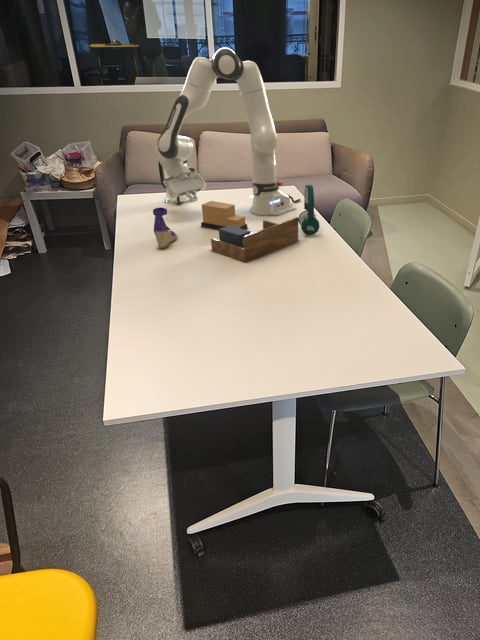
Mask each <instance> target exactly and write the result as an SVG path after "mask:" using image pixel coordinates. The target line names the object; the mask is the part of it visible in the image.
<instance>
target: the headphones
mask: <svg viewBox="0 0 480 640" xmlns="http://www.w3.org/2000/svg"><path fill="white" fill-rule="evenodd" d="M303 209H304V211H302V212H300V214H299V215H298V225H300V227H301V231H302V233H304V234H305V235H306V236H314V235H316V234H317V233H318V232H319V230H320V221H319V220H318V219H317V217H316V213H315V192H314V185H313V184H305V187H304V199H303Z"/></svg>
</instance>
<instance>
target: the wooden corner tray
mask: <svg viewBox="0 0 480 640" xmlns="http://www.w3.org/2000/svg"><path fill="white" fill-rule="evenodd" d="M298 218H299V216H298V217H297V216H296V217H293V218H290V219H287V220H285V221H282V222H278V223H276V222H272V221H269V220H265V219H264V220H262V229H260V230H257V231H254V232H252V231H251V234H248V235H245V236H243V248H242V247H239V246H236V245H232V244H229V243H226V242H223V241H220V240H219V239H216V238H214V237H212V238H210V245H211V246H210V247H211V251H212V252H215V253H217V254H221V255H224V256H227V257H230V258H231V259H232V258H233V259H235V260H238V261H241V262H244V263H248V262H250V261H252V260H255V259H257V258H260V257H262V256H265V255H267V254H270V253H273V252H275V251H277V250H280V249H282V248H285V247H287V246H290V245H292V244H294V243H297V242H299V222H298Z"/></svg>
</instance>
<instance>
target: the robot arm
mask: <svg viewBox="0 0 480 640" xmlns="http://www.w3.org/2000/svg"><path fill="white" fill-rule="evenodd" d="M218 78H221V79H223V80H230V81H235V82H236V84H237V86H238V90H239V95H240V99H241V103H242V106H243V110H244V114H245V118H246V120H247V125H248V128H249V132H250V146H251V149H250V150H251V159H252V178H253V179H252V180H253V181H252V193H253V194H252V195H249V198H250V199H252V204H251V209H250V212H251V213H252V214H255V215H259V216H279V215H282V214H285V213H288V212H291V211H294V210H296V207H295V206H294V205H293V204H291V202H292V203H298V202H300V201H301V198H298V199H296V200H295V199H294V197H293V196H291V195H290V194H289V193H286V192H284V191H283V190H282V189H281V188H280V187H283V185H284V182H283V181H280V180H279V181H278V180H277V163H276V162H277V161H276V160H277V159H276V150H275V149H276V147H277V144H278V135H277V131H276V127H275V123H274V119H273V116H272V112H271V108H270V105H269V100H268V96H267V92H266V88H265V83H264V80H263V77H262V74H261V71H260V69H259V66H258V64H257V63H256V62H254V61H252V60H245V61H243V60H241V59H240V57H239V56H238V55H237V54H236V52H235V51H234V50H233V49H230V48H229V47H221V48H219V49H218V50H217V51H216V52H215V53H214V54H213V55H212V56H211V57H209V58H207V57H204V56H197V57H195V58H194V60H193V61H192V63H191V65H190V67H189V70H188V72H187V76H186V80H185V82H184V86H183V88H182V90H181V92H180V94H179V95H178V97H176V99H175V101H174V104H173V105H172V108H171V110H170V113H169V115H168V119H167V121H166V124H165V126H164V128H163V130H162V132H161V134H160V135H159V136H158V138H157V144H156V146H155V148H154V152H155V153H154V154H155V156H156V158H157V160H158V163H159V162H160V164H161V165H162V168H164V169H165V170H166V172H167V175H168V176H169V178H165V179H164V180H163V184H164V185H165V187H166V189H167V191H168V193H169V195H170V197H172V198H175V197H179V196H183V195H185V196H186V197H187V198H189V199H190V200H189V199H188V200H189V201H190V202H191V203H194V202H197V201H198V200H199V198H198V196H197V193H199V192H202V191H204V190H205V189H206V187H207V184H206V183H207V182H205V179H204V178H203V177H202V175H201V174H200V173H199V172H198V170H197V168H196V167H192V166H184V165H183V162H184V161H186V160H187V161H188V160H189V159H190V158H191V157H192V156H193V154H194V149H195V147H194V143H193V141H192V139H191V138H189V137H188V136H185V135H179V134H180V131H181V129H182V127H183V124H184V121H185V119H186V118H187V117H188V115H190V114H191V113H194V112H197V111H200V110H202V109H203V108H205V107H206V106H207V103H208V101H209V99H210V95H211V92H212V88H213V85H214V83H215V81H216V80H217V79H218ZM166 189H165V190H166Z"/></svg>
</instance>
